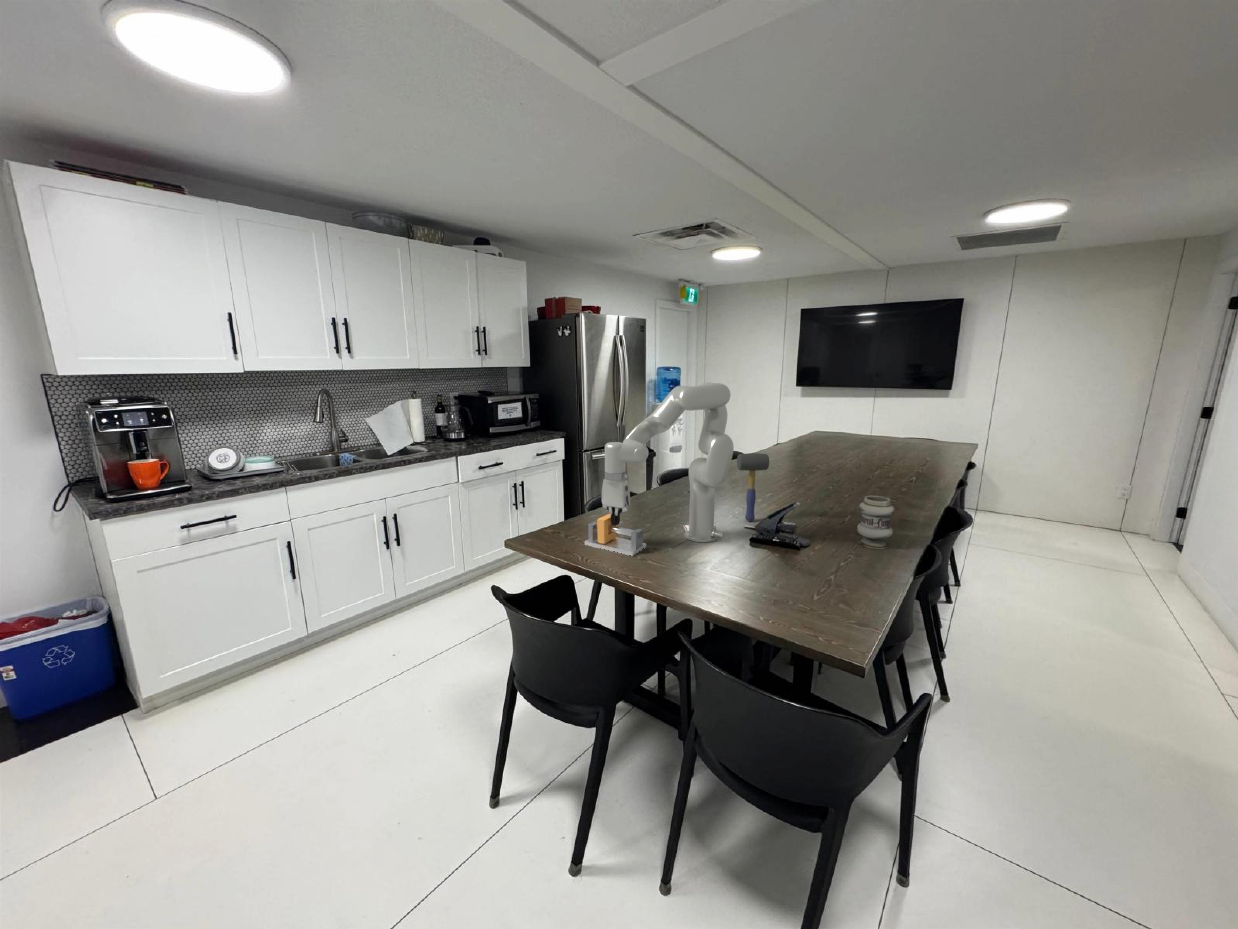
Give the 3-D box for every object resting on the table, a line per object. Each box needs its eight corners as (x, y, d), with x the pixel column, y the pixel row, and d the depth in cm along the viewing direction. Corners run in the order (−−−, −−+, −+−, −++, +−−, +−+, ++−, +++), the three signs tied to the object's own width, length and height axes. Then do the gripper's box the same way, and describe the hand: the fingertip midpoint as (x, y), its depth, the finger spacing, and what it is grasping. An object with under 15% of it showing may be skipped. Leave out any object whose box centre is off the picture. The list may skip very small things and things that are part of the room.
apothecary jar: (848, 540, 184) (852, 495, 181) (872, 537, 188) (877, 492, 184) (873, 551, 173) (878, 503, 169) (899, 548, 177) (904, 500, 173)
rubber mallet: (761, 518, 212) (765, 451, 206) (766, 523, 204) (770, 454, 199) (733, 518, 212) (736, 451, 206) (737, 524, 204) (740, 454, 199)
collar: (617, 536, 184) (617, 514, 182) (604, 543, 176) (604, 520, 175) (610, 535, 185) (610, 513, 184) (597, 542, 178) (597, 519, 176)
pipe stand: (646, 547, 178) (646, 527, 177) (632, 556, 170) (632, 535, 168) (599, 537, 189) (599, 518, 188) (584, 544, 181) (584, 525, 179)
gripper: (638, 476, 173) (637, 525, 177) (603, 472, 181) (604, 518, 185) (627, 480, 167) (627, 530, 171) (592, 475, 175) (593, 523, 178)
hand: (615, 524), depth 178 cm, fingers closed
